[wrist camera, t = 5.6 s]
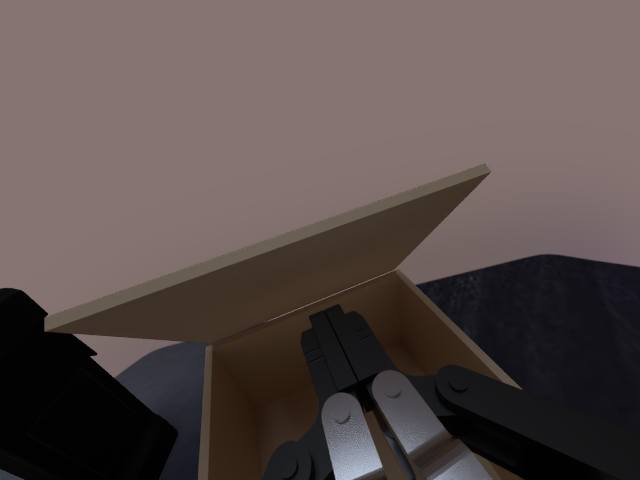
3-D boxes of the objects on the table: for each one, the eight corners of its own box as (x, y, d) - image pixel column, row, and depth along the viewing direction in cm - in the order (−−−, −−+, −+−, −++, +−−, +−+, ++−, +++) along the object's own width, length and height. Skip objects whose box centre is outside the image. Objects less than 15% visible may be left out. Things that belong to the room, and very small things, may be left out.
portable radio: (140, 421, 32) (-59, 260, 19) (184, 419, 31) (8, 248, 18) (89, 512, 25) (-272, 363, 12) (144, 513, 24) (-183, 353, 11)
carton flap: (491, 171, 12) (483, 162, 12) (44, 331, 9) (44, 314, 9) (394, 269, 27) (391, 264, 27) (210, 343, 24) (208, 337, 24)
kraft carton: (549, 538, 19) (616, 481, 12) (280, 719, 15) (180, 769, 9) (402, 341, 34) (398, 269, 27) (251, 410, 30) (206, 346, 24)
